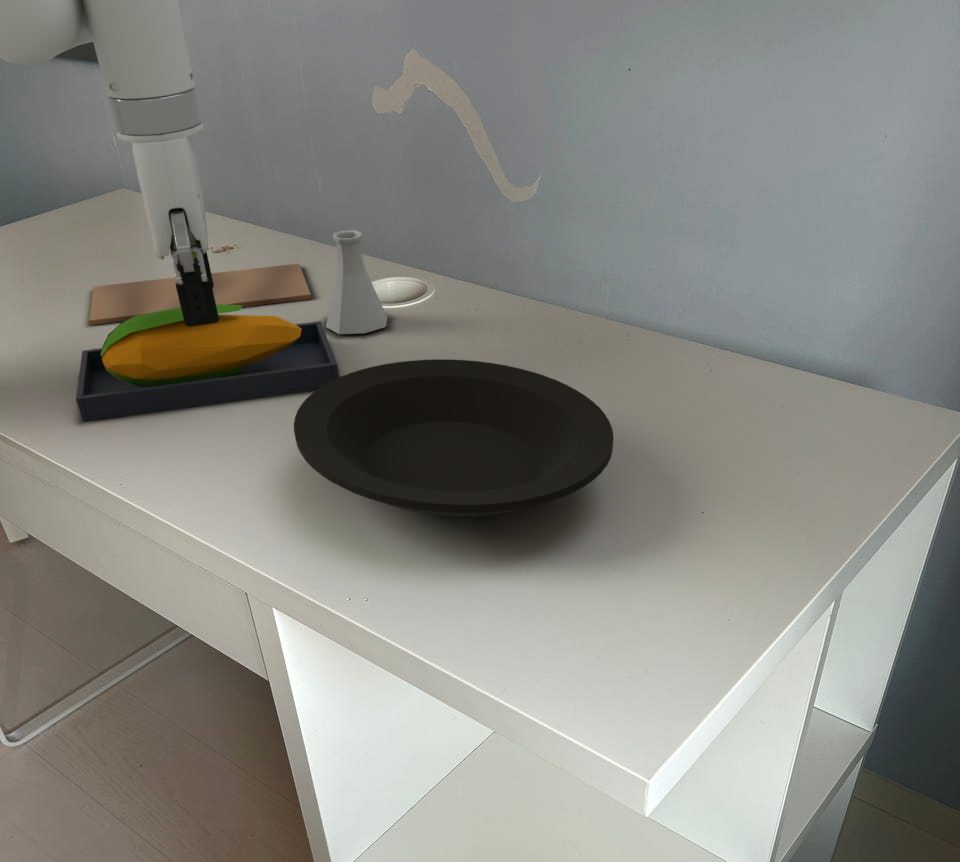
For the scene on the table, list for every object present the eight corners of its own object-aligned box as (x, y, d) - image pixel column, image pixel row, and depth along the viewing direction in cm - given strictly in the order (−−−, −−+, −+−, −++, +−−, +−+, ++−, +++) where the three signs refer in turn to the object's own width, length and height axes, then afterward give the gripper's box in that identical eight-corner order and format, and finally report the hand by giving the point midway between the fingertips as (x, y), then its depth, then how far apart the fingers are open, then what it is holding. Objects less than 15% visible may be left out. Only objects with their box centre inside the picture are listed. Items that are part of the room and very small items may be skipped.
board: (90, 325, 115) (88, 320, 115) (94, 291, 124) (93, 286, 124) (311, 299, 120) (310, 294, 119) (299, 267, 129) (299, 263, 128)
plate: (241, 484, 85) (229, 424, 82) (435, 391, 98) (432, 336, 95) (479, 611, 70) (476, 546, 66) (669, 481, 83) (676, 421, 80)
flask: (319, 318, 115) (307, 229, 108) (379, 309, 116) (371, 221, 110) (333, 340, 109) (321, 248, 103) (395, 330, 111) (388, 239, 105)
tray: (82, 421, 95) (75, 398, 94) (88, 372, 105) (82, 350, 103) (339, 386, 100) (337, 364, 98) (323, 342, 109) (320, 320, 108)
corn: (88, 304, 97) (288, 276, 102) (108, 375, 102) (298, 345, 107) (93, 336, 92) (303, 305, 97) (114, 409, 97) (312, 376, 102)
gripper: (115, 101, 93) (161, 283, 103) (110, 140, 80) (163, 344, 90) (196, 93, 94) (232, 273, 105) (204, 130, 81) (245, 332, 92)
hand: (200, 306), depth 97 cm, fingers open, 9 cm apart
